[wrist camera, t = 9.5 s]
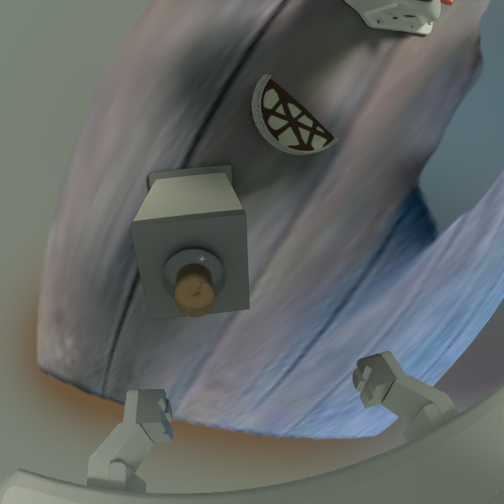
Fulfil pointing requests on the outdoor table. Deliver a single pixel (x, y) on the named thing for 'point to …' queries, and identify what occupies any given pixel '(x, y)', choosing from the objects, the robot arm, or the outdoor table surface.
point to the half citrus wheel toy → (287, 121)
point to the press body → (191, 233)
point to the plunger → (194, 279)
